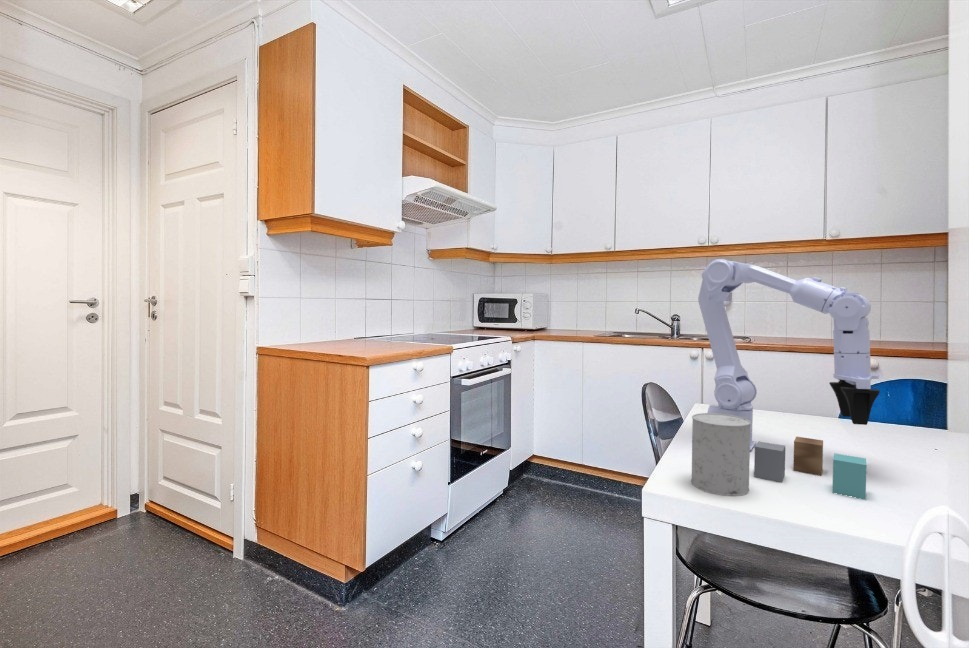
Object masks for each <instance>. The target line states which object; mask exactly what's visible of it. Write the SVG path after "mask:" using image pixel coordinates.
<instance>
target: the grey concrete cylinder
mask: <svg viewBox="0 0 969 648" xmlns="http://www.w3.org/2000/svg"><path fill="white" fill-rule="evenodd" d="M691 419H692V423H691V424H692V429H691V431H692V432H691V435H692V436H691V479H690V482H692V483H691V484H692V486H694V487H695V488H696V489H698V490H701V491H703V492H707V493H709V494H712V495H713V494H714V495H719V496H726V497H728V496H729V497H738V496H739V497H740V496H746V495H748V494H749V492H750V457H751V456H750V424H751V422H750V421H749V420H748V419H745V418H742V417H738V416H733V415H727V414H718V413H708V412H703V413H702V412H701V413H695V414H692V415H691Z"/></svg>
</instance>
